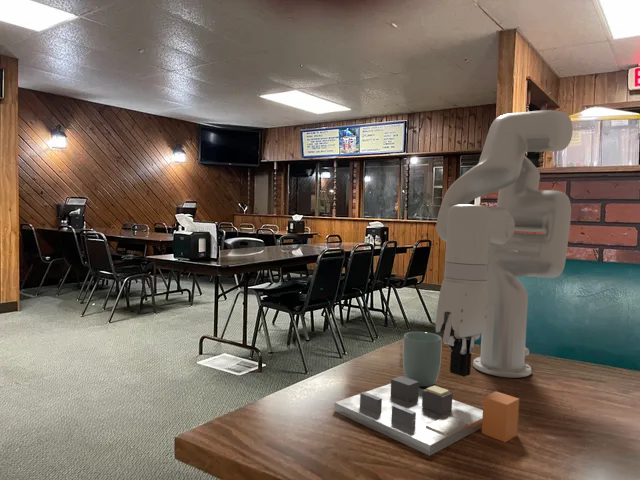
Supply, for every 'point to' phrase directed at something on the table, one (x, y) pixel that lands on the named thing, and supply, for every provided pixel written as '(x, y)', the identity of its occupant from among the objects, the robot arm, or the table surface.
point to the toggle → (404, 388)
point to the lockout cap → (500, 416)
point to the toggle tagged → (437, 400)
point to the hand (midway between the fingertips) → (459, 373)
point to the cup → (422, 357)
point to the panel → (411, 419)
